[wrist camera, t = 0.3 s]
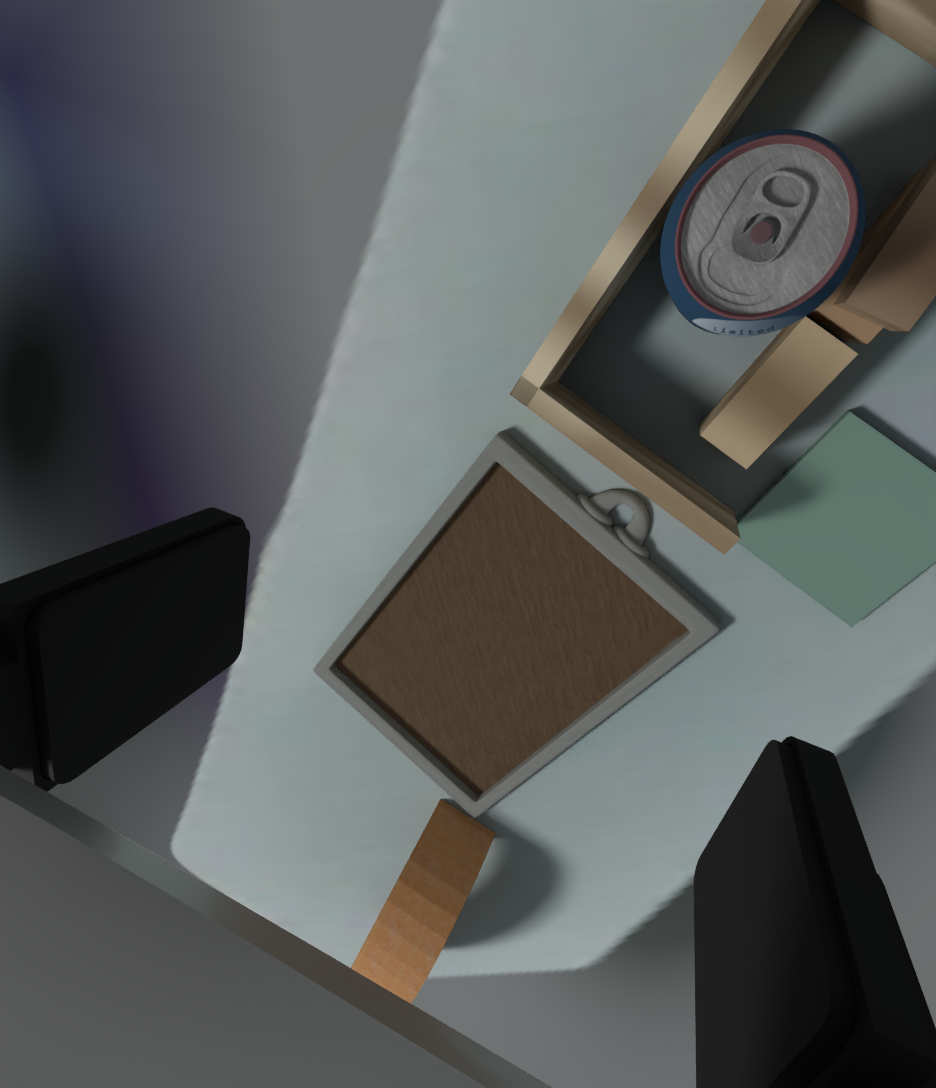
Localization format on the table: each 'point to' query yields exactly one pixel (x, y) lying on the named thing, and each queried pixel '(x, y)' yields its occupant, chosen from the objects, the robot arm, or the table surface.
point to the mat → (847, 520)
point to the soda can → (762, 232)
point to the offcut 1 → (775, 390)
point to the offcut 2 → (833, 316)
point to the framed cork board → (511, 628)
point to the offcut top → (899, 263)
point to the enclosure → (887, 4)
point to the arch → (424, 902)
